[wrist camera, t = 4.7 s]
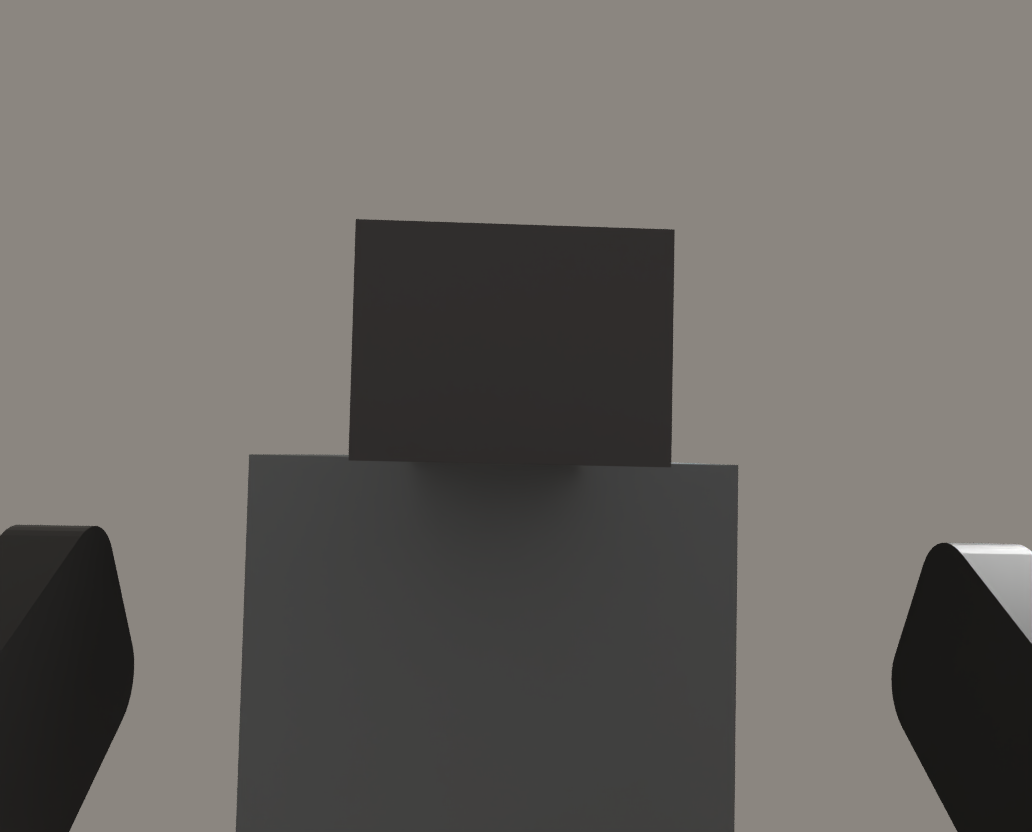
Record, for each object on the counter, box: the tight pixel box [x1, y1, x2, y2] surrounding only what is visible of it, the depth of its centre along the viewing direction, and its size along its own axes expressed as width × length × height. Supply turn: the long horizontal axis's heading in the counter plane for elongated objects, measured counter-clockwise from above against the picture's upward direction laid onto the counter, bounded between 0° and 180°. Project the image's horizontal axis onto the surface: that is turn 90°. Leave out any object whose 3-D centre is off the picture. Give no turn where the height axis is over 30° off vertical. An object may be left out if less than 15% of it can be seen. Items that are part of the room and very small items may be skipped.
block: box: [349, 219, 674, 467], centre depth 22 cm, size 21×5×5 cm, turn 2°
